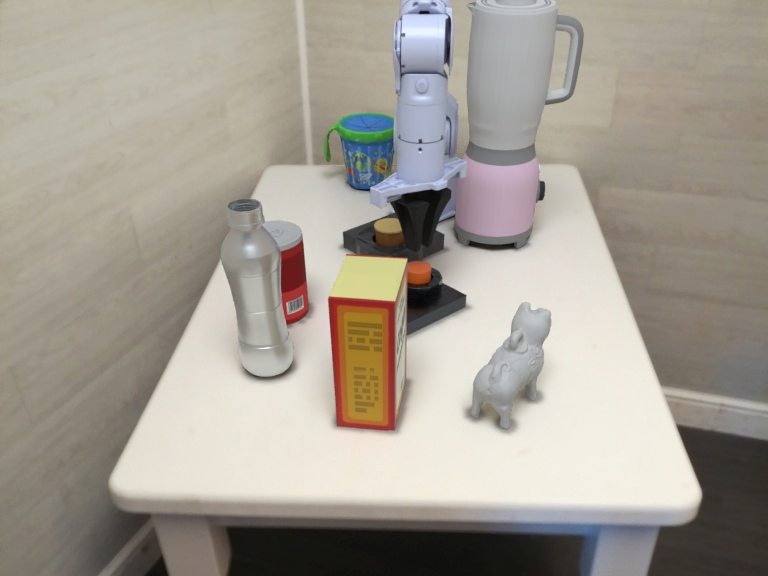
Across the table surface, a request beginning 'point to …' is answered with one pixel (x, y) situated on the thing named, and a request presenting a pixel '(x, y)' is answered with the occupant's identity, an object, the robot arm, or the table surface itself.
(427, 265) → the button
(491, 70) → the blender
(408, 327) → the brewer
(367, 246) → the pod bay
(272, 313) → the plastic bottle
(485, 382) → the dog figurine
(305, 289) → the canned food
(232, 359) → the table surface
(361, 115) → the snack cup
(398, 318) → the baking soda box
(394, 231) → the coffee pod
